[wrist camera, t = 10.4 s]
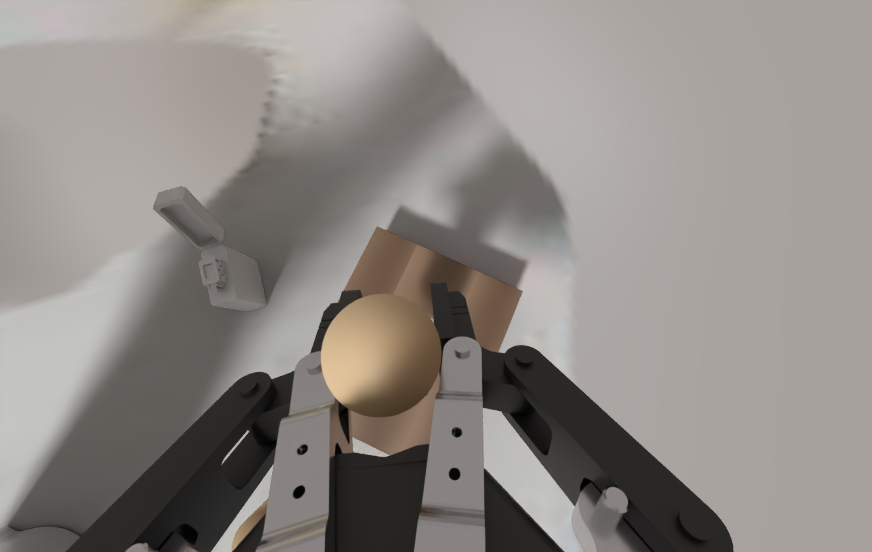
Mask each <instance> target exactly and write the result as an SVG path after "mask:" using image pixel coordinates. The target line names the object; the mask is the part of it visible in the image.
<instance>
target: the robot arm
mask: <svg viewBox="0 0 872 552" xmlns="http://www.w3.org/2000/svg"><path fill="white" fill-rule="evenodd" d="M430 288H431V298H432V309H433V319H434V325H435V327H436V329H437V332H438V335H439V338H440V343H441V364H440V369H439V375H440V384H439V392H438V393H436V397H435V404H434V412H433V420H432V428H431V436H430V444H423V445H416V446H414V447H411V448H409V449H406V450H403V451H401V452H398V453H395V454H393V455H390V456H387V457H378V456H372V455H366V454H360V453H354V452H353V444H352V424H351V410H350V409H348V408H346V407H345V406H344V405H343V404H341V403H340V402H339V401H338V400H337V399H336V398H335V396H334V395H333V394H332V392H331V391H330V389H329V387H328V386H327V384H326V381H325V379H324V376H323V372H322V366H321V349H322V343H323V340H324V337H325V334H326V332H327V329H328V327H329V326H330V324H331V322H332V321H333V320H334V318H335V317H336V316H337V315H338V314H339V313H340V312H341V311H342V310H343V309H344V308H345V307H346V306H348V305H349V304H351V303H352V302H354V301H356V300H358V299H360V298H362V294H361V291H360V289H358V290H348V291H342V293H341V297H340V301H339V303H331V304H330V306H329V307H328V308H327V309H326V310H325V311H324V313H323V316H322V319H321V322H320V325H319V329H318V331H317V335H316V338H315V341H314V344H313V347H312V350H311V353H310V354H309V355H307V356H305V357H304V358H302V359H301V360H300V361H299V362H298V364H297V365H296V368H295V371H293V372H291V373H288V374H285V375H283V376H280V377H277V378H274V379H271V378H270V376H269V375H268V374H267V373H264V372H255V373H251V374H248V375H246V376H244V377H242V378H241V379H239V380H238V381H237V382H235V383H234V384H233V385H232V386H231V387H230V388H229V389H228V390H227V391H226V392H225V393H224V394H223V395H222V396H221V397H220V398H219V399H218V400H217V401H216V402H215V403H214V404H213V405H212V406H211V407H210V408H209V409H208V410H207V411H206V412H205V413H204V414H203V415H202V416H201V417H200V418H199V419H198V420H197V421H196V422H195V423H194V424H193V425H192V426H191V427H190V428H189V429H188V430H187V431H186V432H185V433H184V434H183V435H182V436H181V437H180V438H179V439H178V440H177V441H176V442H175V443H174V444H173V445H172V446H171V447H170V448H169V449H168V450H167V451H166V452H165V453H164V454H163V455H162V456H161V457H160V458H159V459H158V460H157V461H156V462H155V463H154V464H153V465H152V466H151V467H150V468H149V469H148V470H147V471H146V472H145V473H144V474H143V475H142V476H141V477H140V478H139V479H138V480H137V481H136V482H135V483H134V484H133V485H132V486H131V487H130V488H129V489H128V490H127V491H126V492H125V493H124V494H123V495H122V496H121V497H120V498H119V499H118V500H117V501H116V502H115V503H114V504H113V505H112V506H111V507H110V508H109V509H108V510H107V511H106V512H105V513H104V514H103V515H102V516H101V517H100V518H99V519H98V520H97V521H96V522H95V523H94V524H93V525H92V526H91V527H90V528H89V529H88V530H87V531H86V532H85V533H84V534H83V535H82V536H81V537H80V536H78V535H76V534H74V533H73V532H71V531H69V530H67V529H62V528H58V527H37V528H33V529H29V530H25V531H16V530H13V529H12V528H10V527H7V526H6V527H4V528H1V529H0V552H211V551H212V549H213V548H214V547H215V545H216V544H217V542H218V541H219V540H220V538H221V537H222V535H223V534H224V533H225V531H226V530H227V528H228V527H229V526H230V524H231V523H232V521H233V520H234V519H235V517H236V516H237V514H238V513H239V512H240V510H241V509H242V507H243V506H244V505H245V503H246V502H247V500H248V499H249V498H250V496H251V495H252V493H253V492H254V491H255V489H256V488H257V486H258V485H259V484H260V482H261V481H262V479H263V478H264V476H265V475H266V474H267V472H268V471H269V469H270V468H271V467H272V465H273V464H274V465H273V472H272V479H271V485H270V492H269V498H268V505H267V512H266V513H265V515H264V516H263V517H262V518H261V519H260V520H259V521H258V523H257V524H256V525H255V526H254V527H253V528H252V530H251V531H250V532H249V533H248V534H247V535H246V536H245V538H244V539H243V540H242V541H241V542H240V543H239V544H238V546H237V547H236V548H235V549H234V550H233V551H232V552H564V551H563V550H562V549H561V548H560V547H559V546H558V545H557V544H556V543H555V541H554V540H553V539H552V538H551V537H550V536H549V535H548V534H547V533H546V532H545V531H544V530H543V529H542V528H541V527H540V526H539V525H538V524H537V523H536V522H535V521H534V519H533V518H532V517H531V516H530V515H529V514H528V513H527V512H526V511H525V510H524V509H523V508H522V507H521V506H520V505H519V504H518V503H517V502H516V501H515V500H514V499H513V497H512V496H511V495H510V494H509V493H508V492H507V491H506V490H505V489H504V488H503V487H502V486H501V485H500V484H499V483H498V482H497V481H496V480H495V479H494V478H493V477H492V475H491V474H490V473H489V472H488V471H487V470H486V469H485V468H484V458H483V408H487V409H492V410H497V411H502V413H503V415H504V416H505V418H506V419H507V420H508V421H509V423H510V424H511V425H512V427H513V428H514V429H515V430H516V432H517V433H518V434H519V436H520V437H521V438H522V439H523V441H524V442H525V443H526V444H527V446H528V447H529V448H530V450H531V451H532V452H533V453H534V455H535V456H536V457H537V459H538V460H539V461H540V462H541V464H542V465H543V466H544V468H545V469H546V470H547V471H548V473H549V474H550V475H551V476H552V478H553V479H554V480H555V482H556V483H557V484H558V485H559V487H560V488H561V489H562V491H563V492H564V493H565V494H566V496H567V497H568V498H569V499H570V501H571V502H572V503H573V505H574V506H575V508H574V510H573V513H572V528H573V531H574V534H575V536H576V538H577V540H578V542H579V543H580V545H581V547H582V549H583V551H584V552H733V543H732V539H731V537H730V534H729V532H728V530H727V528H726V526H725V525H724V523H723V522H722V521H721V519H720V518H719V517H718V516H717V515H716V513H714V511H712V510H711V509H710V508H709V507H708V506H707V505H706V504H705V503H704V502H703V501H702V500H701V499H700V498H698V497H697V496H696V495H695V494H694V493H693V492H692V491H691V490H690V489H689V488H688V487H686V486H685V485H684V484H683V483H682V482H681V481H680V480H679V479H678V478H676V476H674V475H673V474H672V473H671V472H670V471H669V470H668V469H667V468H666V467H665V466H663V465H662V464H661V463H660V462H659V461H658V460H657V459H656V458H655V457H654V456H652V455H651V454H650V453H649V452H648V451H647V450H646V449H645V448H643V446H642V445H641V444H639V443H638V442H637V441H636V440H635V439H634V438H633V437H632V436H631V435H630V434H628V433H627V432H626V431H625V430H624V429H623V428H622V427H621V426H620V425H619V424H617V422H615V421H614V420H613V419H612V418H611V417H610V416H609V415H608V414H607V413H606V412H604V411H603V410H602V409H601V408H600V407H599V406H598V405H597V404H596V403H595V402H593V401H592V400H591V399H590V398H589V397H588V396H587V395H586V394H585V393H584V392H583V391H582V390H580V389H579V388H578V387H577V386H576V385H575V384H574V383H573V382H572V381H571V380H570V379H568V378H567V377H566V376H565V375H564V374H563V373H562V372H561V371H560V370H559V369H557V368H556V367H555V366H554V365H553V364H552V363H551V362H550V361H549V360H548V359H547V358H545V357H544V356H543V355H542V354H541V353H540V352H539V351H538V350H536V349H534V348H532V347H529V346H525V345H518V346H514V347H511V348H510V349H508V350H507V351H506V353H499V352H493V351H490V350H487V349H485V348H483V347H482V346H481V345H480V344H479V343H478V342H477V340H476V338H475V334H474V330H473V326H472V322H471V318H470V314H469V310H468V307H467V302H466V298H465V297H464V296H463V295H462V294H461V293H460V292H459V291H453V292H448V289H447V283H446V281H440V282H430ZM247 430H248V431H249V433H248V434H247V435H246V436H245V438H244V439H243V440H242V441H241V442H240V444H239V445H238V446H237V447H236V448H235V450H234V451H233V452H232V453H231V454H230V456H229V457H228V458H227V459H226V460H225V462H224V463H223V464H222V461H223V459H224V458H225V456H226V455H227V454H228V453H229V452H230V450H231V449H232V448H233V447H234V446H235V444H236V443H237V442H238V441H239V440H240V439H241V437H242V436H243V435H244V434H245V433H246V431H247ZM221 464H222V465H221Z"/></svg>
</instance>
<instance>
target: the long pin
mask: <svg viewBox="0 0 872 552" xmlns="http://www.w3.org/2000/svg"><path fill="white" fill-rule="evenodd" d="M440 364H441V343H440V338H439V335H438V332H437V329H436V327H435V325H434V323H433V322H432V320H431V318H430V317H429V316H428V315H427V313H426V312H425V311H424V310H423V309H422V308H421V307H419V306H418V305H417V304H415V303H414V302H412V301H410V300H408V299H406V298H403V297H401V296H397V295H392V294H375V295H369V296H366V297H362V298H360V299H358V300H356V301H354V302H352V303H351V304H349V305H348V306H346V307H345V308H344V309H343V310H342V311H341V312H340V313H339V314H338V315H337V316H336V317H335V318H334V320H333V321H332V322H331V324H330V326H329V327H328V329H327V332H326V334H325V337H324V340H323V343H322V349H321V366H322V372H323V376H324V379H325V381H326V384H327V386H328V387H329V389H330V391H331V392H332V394H333V395H334V396H335V398H336V399H337V400H338V401H339V402H340V403H341V404H343V405H344V406H345V407H346V408H348V409H350V410H352V411H353V412H356V413H358V414H361V415H364V416H368V417H377V418H379V417H390V416H394V415H398V414H401V413H403V412H405V411H407V410H409V409H411V408H412V407H414V406H415V405H416V404H418V403H419V402H420V401H421V400H422V399H423V398H424V397H425V396H426V395H427V394H428V392H429V391H430V389H431V388H432V386H433V384H434V382H435V380H436V378H437V375H438V373H439V369H440Z"/></svg>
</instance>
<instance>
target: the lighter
mask: <svg viewBox="0 0 872 552" xmlns="http://www.w3.org/2000/svg"><path fill="white" fill-rule="evenodd" d="M153 209H154V210H155V211H156V212H157V213H158V214H159V215H161V217H163V218H164V219H165V220H166V221H167V222H168V223H169V224H170V225H171V226H173V227H174V228H175V229H176V230H177V231H178V232H179V233H180V234H181V235H182V236H184V237H185V238H186V239H187V240H188V241H189V242H190V243H191V244H192V245H193V246H195V247H196V248H197V249H198V250H202V252H201V253H200V254H201V259H202V260H200V261H199V262H198V264H199V269H200V274H201V279H202V284H203V285H204V286H207V289H208V294H209V299H210V304H211V305H212V306H216V307H222V308H229V309H235V310H241V311H248V312H249V311H252V310H255V309H258V308H261V307H265V306H266V305H267V301H266V297H265V292H264V288H263V284H262V280H261V275H260V271H259V267H258V263H257V260H255V259H253V258H251V257H248V256H246V255H244V254H242V253H240V252H238V251H235V250H233V249H231V248H229V247H227V246H225V245H222V244H223V239H224V232H225V229H224V228H223V227H222V226H221V225H220V224H219V223H218V222H217V221H216V220H215V219H214V218H213V216H212V215H211V214H210V213H209V212H208V211H207V210H206V209H205V208H204V207H203V206H202V205H201V204H200V202H199V201H198V200H197V199H196V198H195V197H194V196H193V195H192V194H191V193H190V192H189V191H188V190H187V189H186V188H185V187H182V186H181V187H177V188H174V189H170V190H166V191H163V192H159V193H158V195H157V198H156V201H155V203H154V207H153Z"/></svg>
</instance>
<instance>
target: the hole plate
mask: <svg viewBox="0 0 872 552" xmlns="http://www.w3.org/2000/svg"><path fill="white" fill-rule="evenodd" d="M440 281H446V283H447V289H448V292H453V291H459V292H460V293H461V294H462V295H463V296H464V297H465V298H466V302H467V307H468V310H469V314H470V318H471V322H472V326H473V330H474V334H475V338H476V340H477V342H478V343H479V344H480V345H481V346H482V347H483V348H485V349H487V350H490V351H493V352H499V349H500V347H501V344H502V342H503V339H504V337H505V334H506V332H507V329H508V327H509V324H510V322H511V319H512V317H513V314H514V312H515V309H516V307H517V304H518V302H519V299H520V297H521V294H522V292H523V291H521V290H519V289H517V288H514V287H512V286H510V285H508V284H505V283H503V282H501V281H499V280H496V279H494V278H492V277H490V276H487V275H485V274H483V273H481V272H478V271H476V270H474V269H472V268H469V267H467V266H465V265H463V264H460V263H458V262H456V261H454V260H451V259H449V258H447V257H445V256H442V255H440V254H438V253H436V252H433V251H431V250H429V249H427V248H424V247H422V246H420V245H418V244H416V243H413V242H411V241H409V240H407V239H404V238H402V237H400V236H398V235H395V234H393V233H391V232H389V231H386V230H384V229H382V228H380V227H376V229H375V231H374V233H373V235H372V237H371V239H370V241H369V243H368V245H367V247H366V249H365V251H364V252H363V254H362V256H361V258H360V260H359V262H358V264H357V266H356V268H355V270H354V272H353V274H352V276H351V278H350V279H349V281H348V283H347V285H346V287H345V289H344V291H348V290H358V289H360V291H361V294H362V297H366V296H369V295H375V294H392V295H397V296H401V297H403V298H406V299H408V300H410V301H412V302H414V303H415V304H417V305H418V306H419V307H421V308H422V309H423V310H424V311H425V312H426V313H427V315H428V316H429V317H430V318H433V309H432V298H431V288H430V282H440ZM339 301H340V299H339ZM339 301H338V303H339ZM439 384H440V375H439V373H438V375H437V378H436V380H435V382H434V384H433V386H432V388H431V389H430V391H429V392H428V394H427V395H426V396H425V397H424V398H423V399H422V400H421V401H420V402H419V403H418V404H416V405H415V406H414V407H412V408H411V409H409V410H407V411H405V412H403V413H401V414H398V415H394V416H390V417H379V418H377V417H368V416H364V415H361V414H358V413H356V412H353V411H352V410H351V424H352V437H354V438H356V439H358V440H360V441H362V442H364V443H366V444H368V445H370V446H372V447H374V448H376V449H378V450H380V451H382V452H384V453H386V454H389V455H393V454H395V453H398V452H401V451H403V450H406V449H409V448H411V447H414V446H416V445H423V444H430V436H431V428H432V420H433V412H434V404H435V397H436V393H438V392H439Z"/></svg>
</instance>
